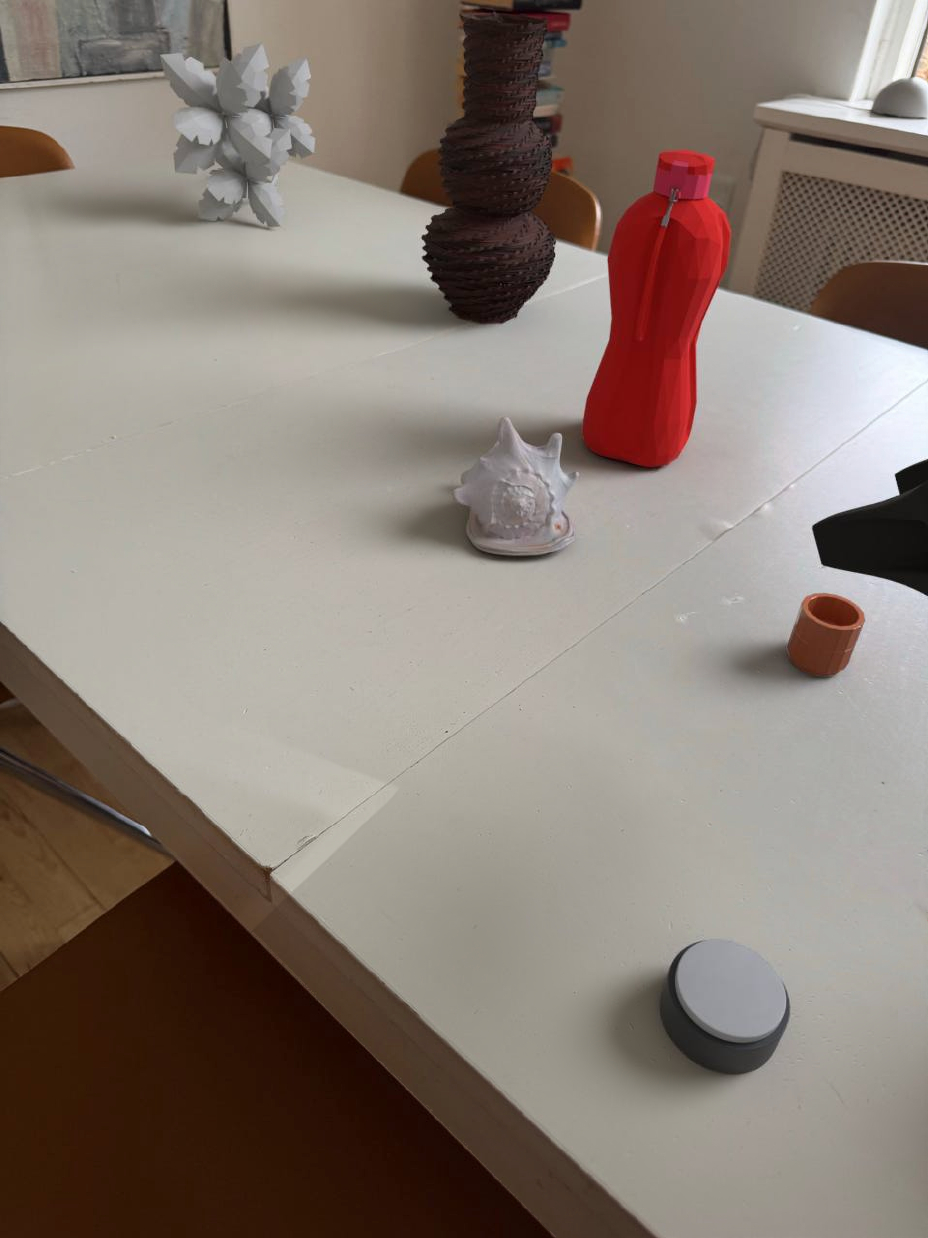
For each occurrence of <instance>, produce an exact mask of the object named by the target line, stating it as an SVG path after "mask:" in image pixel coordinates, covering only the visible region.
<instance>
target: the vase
mask: <svg viewBox="0 0 928 1238" xmlns="http://www.w3.org/2000/svg"><path fill="white" fill-rule="evenodd" d="M458 15H459V18H460V20H461V21H462V22H463V24H462V28H463V29H462V30H463V32H464V35H465V37H464V38H463V40H462V47H463V48H464V52H463V60H464V64H463V71H464V73H465V75H466V76H465V77H464V78H463V80H462V84H463V87H464V88H463V90H462V96H463V98H464V100H463V102H461V108H462V110H463V111H464V114H463V116H462V117H460V118H458V119H456V120H455V121H454V122H453V124H452V125H450V126H449V125H448V126H447V127H446V128H445V130H444V132H445V136H444V137H442V138H440V139H439V144H440V145H441V146H440V147H439V148H437V153H438V154H439V155H440V156H441V157H442V158H441V159H440V160H437V165H438V166H439V167H440V168H441V170H439V171H438V173H439V175H440V177H442V178H443V182H440V187H442V188H443V189H444V190H445V191H446V192H445V197H446V198H447V199H449V200H450V201H452V204H451V205H452V207H448V208H445V209H444V211H443V212H442V213H440V214H433V215H431V217H430V220H431V221H430V223H429V224H426V225H425V228H424V229H425V230H426V231H427V233H425V234H421V237H420V238H421V240H422V241H423V242H424V243H425V244H424V245H423V246H422V247H421V249H422V251H424V252H426V254H425V255H422V256H421V259H422V261H423V262H424V263H426V264H427V265H428V266H427V267H426V269H427V270H426V271H428V272H429V273H431V276H429V279H430V280H431V282H433V283H434V284H436V285H438V287H437V289H438V291H439V292H441V293H442V294H443V295H444V296H443V299H444V300H445V301H447V302H448V303H450V304H451V305H450V306H448V311H450V312H451V313H452V314H453V315H454V316H456V317H457V319H460V320H464V321H468V322H474V323H478V324H495V323H501V324H504V323H505V322H507V321H510V320H511V319H514V318H515V319H516V318H517V317H518V314H519V313H520V310H521V309H522V308H523V307H524V306H525V303H526V302H528V301H529V300H531V299H532V297H533V296H535V294H536V293H537V292H538V290H539V289H540V288H541V286H543V285H544V283H545V282H546V281H547V280H548V277H549V275H550V273H551V269H552V267H553V265H554V261H555V258H556V252H555V249H556V247H555V246H556V244H557V240H556V238H555V234H554V232H552V230H551V228H550V226H549V225H548V224H547V223H546V221H544V219H542V218H541V217H540V216H538V215H537V214H534V213H533V212H531V211H532V210H533V209H534V208H536V207H537V206H538V205H539V204H540V202H541V201H542V195H543V194H544V193H545V191H546V189H547V185H548V184H549V181H550V180H549V177H550V173H551V171H552V169H553V150H552V148H553V145H552V141H551V139H550V137H549V136H548V134H546V133H544V131H543V130H542V129H541V127H540V126H539V125H538V124H537V123H536V122H535V121H534V113H535V110H536V107H537V102H538V101H537V94H538V93H537V91H538V90H537V87H538V85H539V80H540V78H539V72H540V70H541V64H542V62H543V60H544V52H543V50H542V49H543V47H544V43H545V36H546V35H547V32H548V25H549V21H547V17H542V18H539V17H534V16H528V15H526V14H525V13H521V14H520V15H517V14H506V13H497V12H496V11H492V12H490V13H488V12H487V13H486V12H485V13H484V12H472V11H469V12H468V13H464V14H462V13H459V14H458Z"/></svg>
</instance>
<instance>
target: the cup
mask: <svg viewBox="0 0 928 1238" xmlns="http://www.w3.org/2000/svg"><path fill="white" fill-rule="evenodd" d="M865 622H866V617H865V613H864V611H863V610H862V609H861V607H860V606H859V605H858V604H856V603H855V602H853V601H852V600H850V599H849V598H847V597H843V596H841V595H838V594H834V593H828V592H814V593H812V594H811V593H810V594H808V595H806V596H805V597H804V598H803V600H802V601H801V603H800V606H799V608H798V612H797V615H796V617H795V621H794V624H793V627H792V629H791V633H790V635H789V638H788V641H787V643H786V644H787V653H788V657H789V660H790V662H791V663H792V664H793V666H795V667H796V668H797V669H799V670H800V671H802V672H804V673H806V674H808V675H812V676H816V677H823V678H825V677H833V676H836V675H838V674H839V673H840V672H841V671H844V670H845V669H846V668H847V666H848V664H849V663H850V661H851V657H852V655H853V652H854V650H855V647H856V645H857V642H858V641H859V637H860V635H861V633H862V630H863V627H864V625H865Z"/></svg>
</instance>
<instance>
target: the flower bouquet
mask: <svg viewBox="0 0 928 1238" xmlns="http://www.w3.org/2000/svg"><path fill="white" fill-rule="evenodd" d="M159 57H160V61H161V67H162V71H163V75H164V78H166V79H167V80H168V81H169V87H170V88H171V90H172V91H173V92H174V93H175V94H176V96H177V97H178V98H179V99H182V100H183V102H184V105H186V106H187V107H182V108H178V109H177V110H175V113H177V114H174V115H171V118H172V122H173V125H174V128H175V129H176V130H177V131H179V132H180V133H181V134H180V136H179V137H178V140H177V142H176V144H175V147H177V149H176V150H175V151H174V152H173V153H172V155H173V164H174V172H175V173H177V174H178V173H179V174H188V175H189V174H190V175H197V173H198V168H199V169H201V170H202V171H203V172H204V171H207V170H208V169H210V168H212V167H213V166H215V164H218V165H219V166H220V167H221V168H217V169H211V171H209V172H208V174H209V175H210V176H206V177H205V181H206V185H207V187H206V188H205V189H204V191H203V193H202V194H201V195H202V197H203V198H202V199H200V200H198V217H197V218H198V219H202V220H207V221H211V222H217V220H218V218H219V219H221V221H224V220H226V219H229V218H232V217H233V213H238V212H239V211H240V209H241V208H242V207H243V205H244V200H243V199H248V202H249V207H250V209H251V211H252V213H253V214H254V215H255V217H256V219H257V220H258V221H259V222H260V223H261V224H262V225H265V224H266V225H267V227H268V228H278V227H282V224H283V220H284V216H285V213H286V210H285V209H284V208H282V207H281V206H282V205H284V204H285V203H284V200H283V196H282V194H281V193H279V192H277V191H278V190H279V188H277V187H276V186H275V185H276V182H277V181H278V177H279V173H280V172H281V166H286V165H287V162H288V160H289V158H290V156H291V157H293V158H297V155H298V156H299V158H300V159H301V160H302V159H305V158H307V157H309V156H312V155H313V154H315V145H316V137H314V136H312V135H311V134H312V133H313V130H312V128H311V126H310V125H309V123H306V122H304V121H305V120H304V119H303V118H301V117H299V116H297V115H293V113H294V112H297V111H298V109H299V108H301V106H302V105H303V104H304V101H303V98H308V95H309V91H310V87H311V85H310V83H309V82H308V81H309V80H310V79H311V78H312V75H311V70H310V66H309V63H308V58H307V57H306V58H305V57H304V58H300V59H295V60H290V62H289V65H284V66H283V67H281V68H278V70H277V71H275V72H274V73H273V74H272V78H271V80H270V84H269V87H268V79H269V75H268V74H267V73H266V72H265V71H264V70H266V69H268V68H269V67H270V64H269V61H268V57H267V54H266V51H265V47H264V45H263V42H260V43H255V44H253V45H249V46H245V47H243V50H242V52H241V53H239V52H237V53H236V54H235V55H234V57H233V58H232V59H231V60H229V59H228V58H227V57H225V56H223V57H222V60H221V61H220V62H219V67H218V70H217V74H216V76H215V74H214V73H213V72H212V70H205V68H204V63H203V62H201V61H199V60H197V59H196V58H194V57H192V56H189V57H188V58H187V59H185V58H184V55H183V53H182V52H176V53H166V54H159ZM268 93H269V94H268ZM268 177H272V179H271V180H270V182H268V181H269V178H268Z"/></svg>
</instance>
